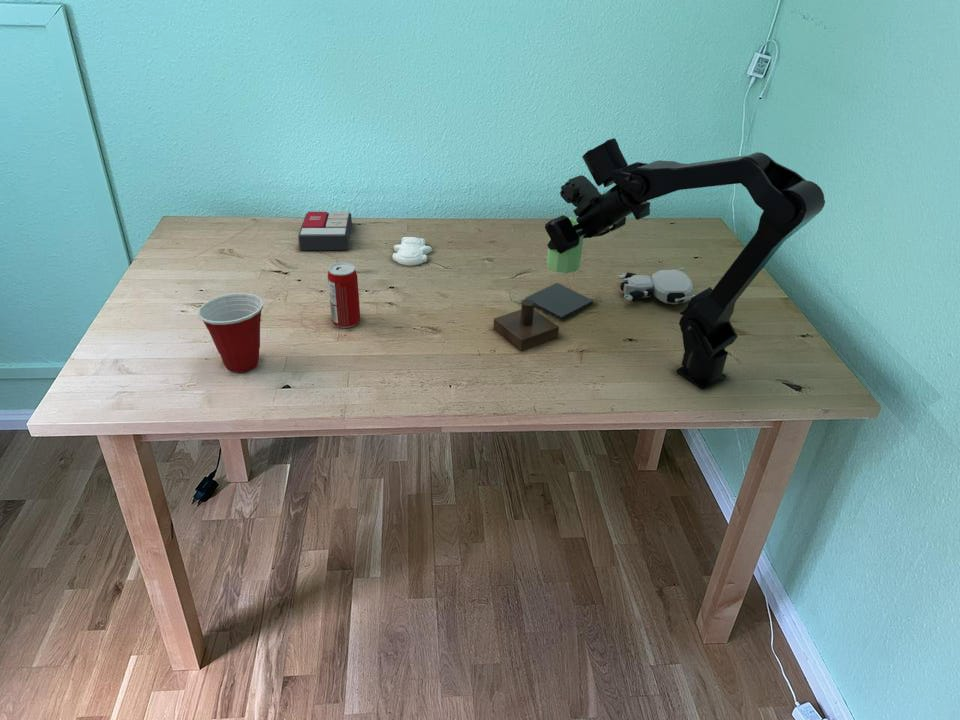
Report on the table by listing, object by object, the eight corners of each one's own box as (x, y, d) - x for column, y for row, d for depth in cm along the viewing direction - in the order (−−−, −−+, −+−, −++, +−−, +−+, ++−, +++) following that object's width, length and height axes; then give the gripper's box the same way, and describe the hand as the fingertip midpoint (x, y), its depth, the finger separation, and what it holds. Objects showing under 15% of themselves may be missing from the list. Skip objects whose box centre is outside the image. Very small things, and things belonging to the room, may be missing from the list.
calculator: (351, 209, 174) (346, 232, 162) (352, 226, 177) (347, 250, 164) (305, 209, 173) (297, 232, 161) (307, 226, 176) (299, 250, 163)
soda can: (366, 320, 140) (362, 265, 133) (347, 332, 136) (342, 276, 129) (345, 311, 142) (341, 257, 135) (326, 322, 138) (320, 268, 131)
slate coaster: (592, 304, 148) (593, 300, 147) (561, 321, 142) (561, 316, 141) (556, 286, 154) (557, 282, 153) (525, 301, 148) (525, 297, 147)
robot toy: (622, 312, 147) (695, 312, 146) (624, 293, 144) (698, 292, 144) (615, 284, 157) (684, 283, 156) (617, 266, 155) (687, 265, 154)
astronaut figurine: (435, 244, 168) (435, 233, 167) (424, 267, 159) (423, 255, 157) (399, 241, 169) (399, 229, 168) (386, 263, 160) (385, 251, 158)
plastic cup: (248, 339, 133) (238, 283, 126) (285, 361, 127) (276, 304, 120) (197, 364, 126) (183, 306, 119) (233, 389, 120) (221, 329, 113)
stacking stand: (558, 337, 137) (561, 306, 133) (521, 351, 133) (523, 319, 129) (529, 316, 143) (532, 286, 139) (493, 329, 139) (494, 298, 135)
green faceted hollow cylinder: (560, 255, 146) (565, 214, 141) (585, 266, 143) (591, 225, 138) (540, 264, 143) (543, 222, 138) (565, 276, 139) (570, 233, 134)
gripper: (622, 156, 134) (571, 195, 146) (557, 179, 123) (508, 218, 135) (650, 208, 134) (596, 242, 146) (587, 235, 123) (535, 270, 135)
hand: (560, 242), depth 141 cm, fingers closed on green faceted hollow cylinder, 6 cm apart
